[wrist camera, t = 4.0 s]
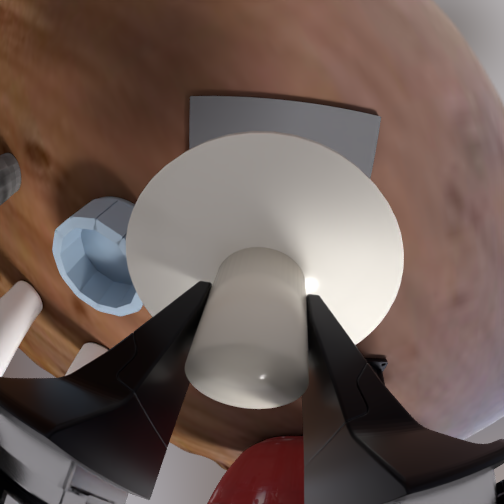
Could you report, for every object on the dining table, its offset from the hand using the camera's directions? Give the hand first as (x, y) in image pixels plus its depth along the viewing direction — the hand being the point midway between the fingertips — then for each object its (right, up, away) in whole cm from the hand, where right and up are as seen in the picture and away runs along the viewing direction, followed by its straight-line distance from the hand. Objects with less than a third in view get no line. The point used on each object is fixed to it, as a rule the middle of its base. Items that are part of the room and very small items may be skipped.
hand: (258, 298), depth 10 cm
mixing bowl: (+8, -35, +34) cm, 49 cm away
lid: (0, +1, +1) cm, 1 cm away
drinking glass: (-30, -4, +20) cm, 36 cm away
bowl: (-12, +2, +13) cm, 18 cm away
